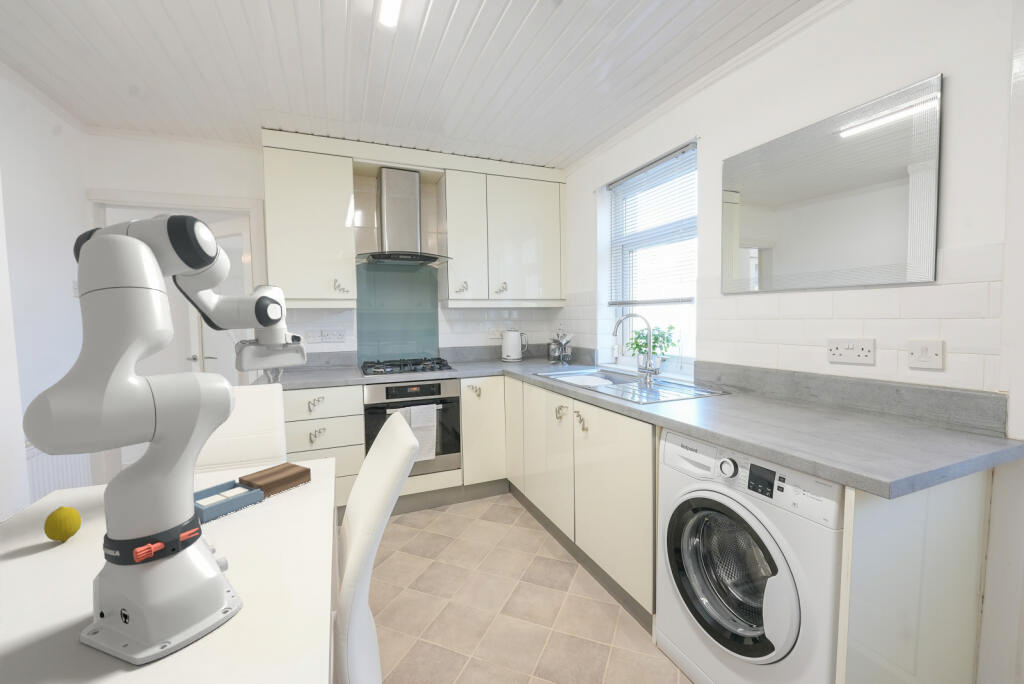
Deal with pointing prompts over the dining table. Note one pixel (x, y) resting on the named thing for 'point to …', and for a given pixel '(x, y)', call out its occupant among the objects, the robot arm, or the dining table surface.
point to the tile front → (211, 500)
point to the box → (227, 505)
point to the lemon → (62, 524)
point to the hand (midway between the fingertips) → (274, 382)
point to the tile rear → (234, 492)
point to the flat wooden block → (277, 478)
